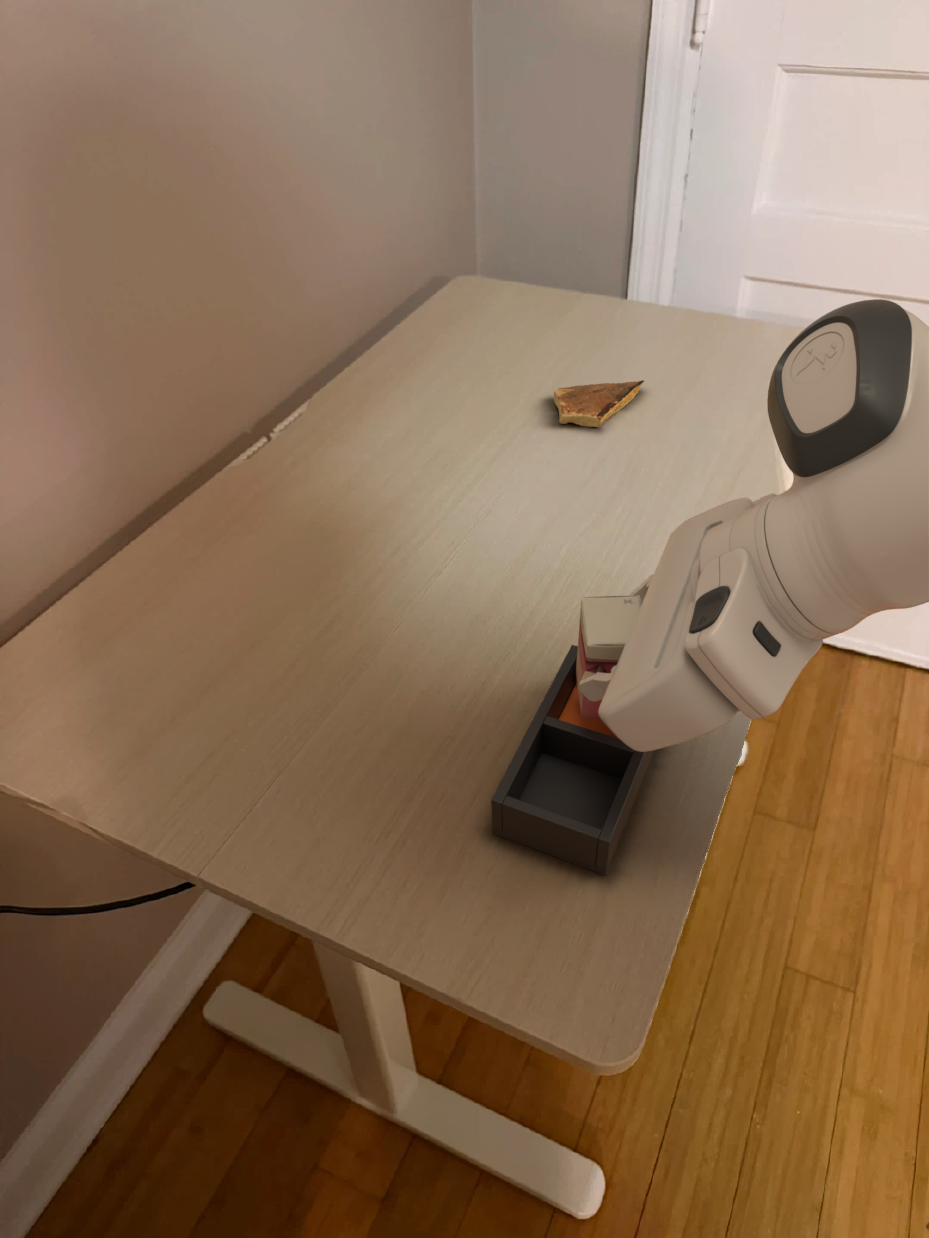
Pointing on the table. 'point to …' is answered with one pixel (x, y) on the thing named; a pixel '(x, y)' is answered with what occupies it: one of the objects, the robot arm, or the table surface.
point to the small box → (603, 638)
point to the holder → (569, 781)
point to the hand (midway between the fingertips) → (601, 651)
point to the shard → (593, 401)
